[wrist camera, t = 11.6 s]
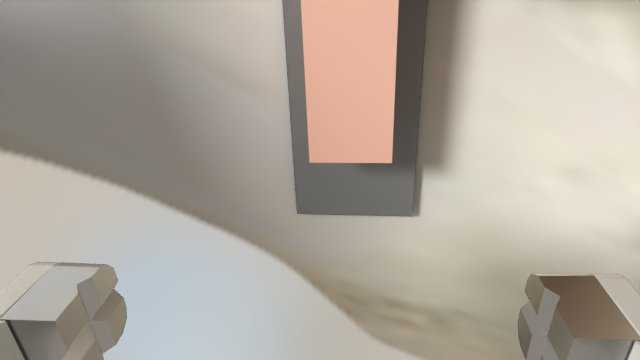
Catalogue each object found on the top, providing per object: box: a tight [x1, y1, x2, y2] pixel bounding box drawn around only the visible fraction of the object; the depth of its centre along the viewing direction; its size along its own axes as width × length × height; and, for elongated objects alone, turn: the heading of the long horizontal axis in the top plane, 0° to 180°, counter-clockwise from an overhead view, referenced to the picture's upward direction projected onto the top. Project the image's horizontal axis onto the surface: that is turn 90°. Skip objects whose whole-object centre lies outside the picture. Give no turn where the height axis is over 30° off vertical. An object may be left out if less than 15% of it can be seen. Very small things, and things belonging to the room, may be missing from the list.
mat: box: [282, 0, 428, 216], centre depth 23 cm, size 7×16×1 cm, turn 2°
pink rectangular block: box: [301, 0, 399, 163], centre depth 19 cm, size 4×14×4 cm, turn 2°
